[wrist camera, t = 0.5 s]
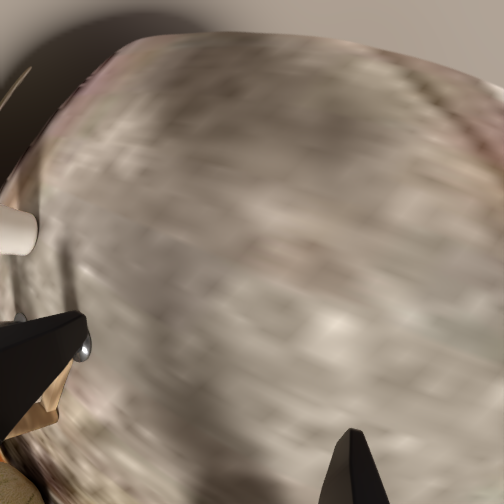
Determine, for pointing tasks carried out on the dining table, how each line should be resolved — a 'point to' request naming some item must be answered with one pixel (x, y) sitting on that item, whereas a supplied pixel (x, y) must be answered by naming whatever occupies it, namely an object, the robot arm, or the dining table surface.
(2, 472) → the cantaloupe
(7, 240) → the cream white cylinder
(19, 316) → the post
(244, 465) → the dining table surface
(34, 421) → the gate
